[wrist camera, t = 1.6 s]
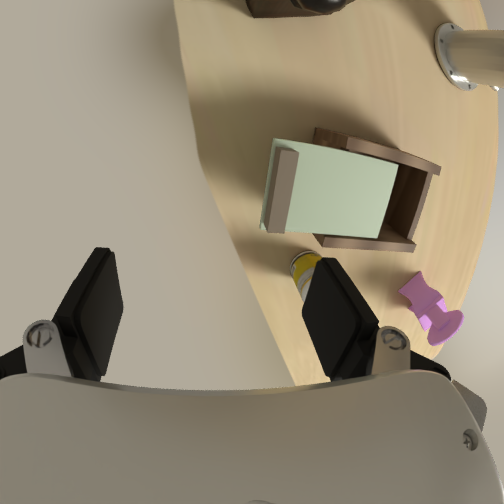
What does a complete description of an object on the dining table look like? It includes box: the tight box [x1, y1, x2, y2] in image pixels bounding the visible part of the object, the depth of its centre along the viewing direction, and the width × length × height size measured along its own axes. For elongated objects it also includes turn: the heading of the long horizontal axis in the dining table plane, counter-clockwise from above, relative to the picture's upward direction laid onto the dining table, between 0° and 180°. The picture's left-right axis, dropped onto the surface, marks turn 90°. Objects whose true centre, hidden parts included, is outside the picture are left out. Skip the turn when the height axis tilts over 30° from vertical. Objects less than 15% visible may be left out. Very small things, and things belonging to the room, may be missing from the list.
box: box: [312, 128, 441, 253], centre depth 31 cm, size 14×12×9 cm
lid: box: [259, 138, 398, 238], centre depth 25 cm, size 14×9×3 cm, turn 83°
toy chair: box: [398, 271, 464, 346], centre depth 42 cm, size 8×9×15 cm
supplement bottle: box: [290, 251, 322, 302], centre depth 37 cm, size 5×5×10 cm
